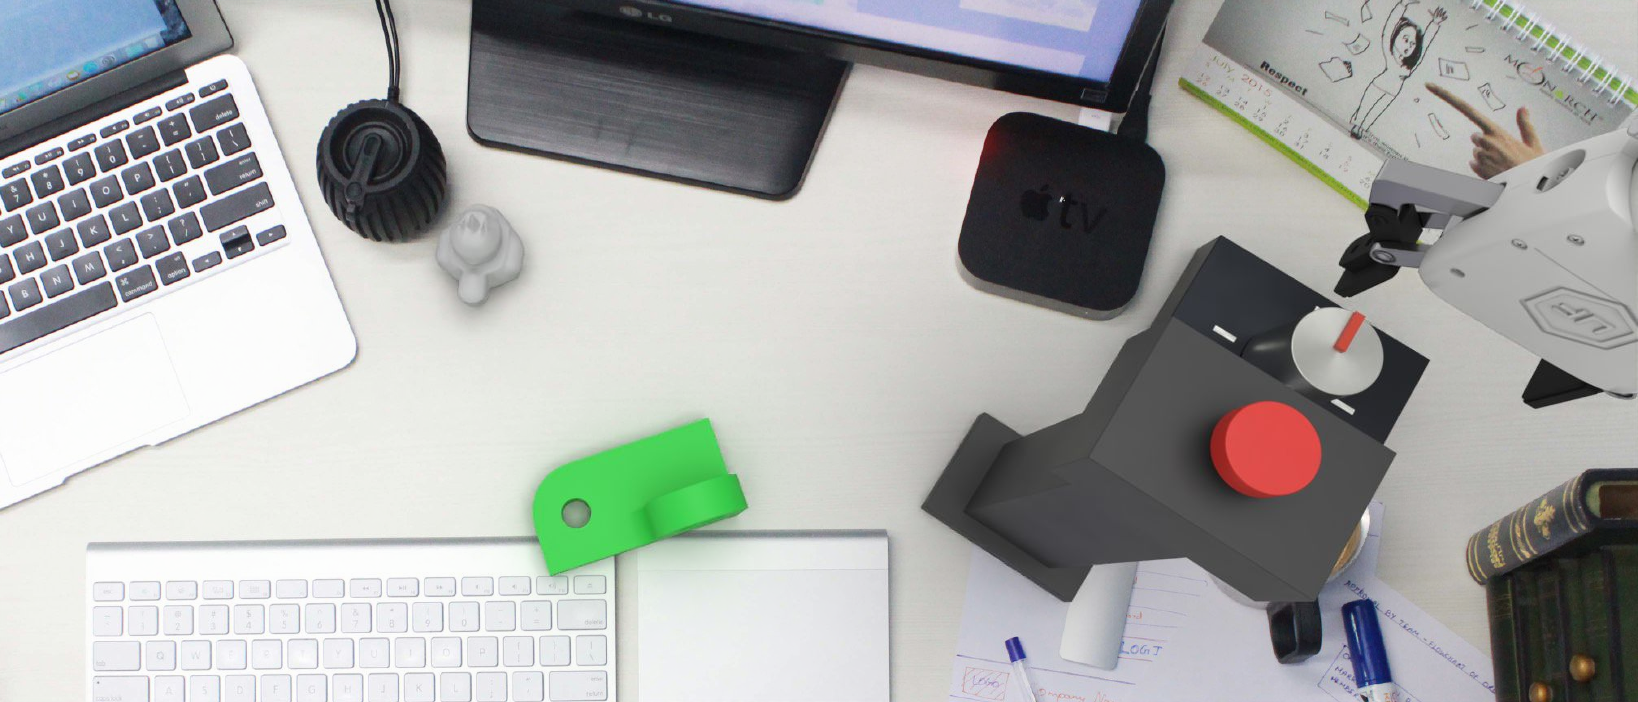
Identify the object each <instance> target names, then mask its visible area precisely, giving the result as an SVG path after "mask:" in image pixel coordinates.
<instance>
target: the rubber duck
mask: <svg viewBox="0 0 1638 702" xmlns="http://www.w3.org/2000/svg"><path fill="white" fill-rule="evenodd" d="M524 258H525V247H524V243H523V241H522V239H521V236H520V235H519V234H518V232H516V230H514V228H513V226H512V224H510V222H509V220H508V219H507V218H506V217H505V216H504V215H503V213H502V212H501V211H500V210H499V209H498V208H496V207H494V206H490V205H487V204H483V203H476V204H473V205H471V206H469V207H467V208H466V209H464V210H463V211H461V213H459V215H457V216H456V218H454V220H453V221H452V223H451V224H450V225H449V226H447V227H446V228H444V230H443V231H442V232H441V234H440V235H439V237H438V240H437V246H436V250H435V261H436V263H437V265H438V266H439V267H440V268H441V269H442V270H443V271H444V272H445V273H447V274H448V275H449V276H450V277H451V278H452V279H454V280H456V281H457V282H458V285H457V292H456V293H457V297H458V298H459V299H460V300H461V301H462V302H463V303H465V304H467V306H468V307H470V308H479V307H481V306H483V305H484V304H485V303H486V302H487V301H488V298H489V296H490V291H491V290H490V289H491V288H494V287H498V286H501V285H503V284H505V283H506V282H510V281H513V280H515V279H517V278H518V277H519V276H521V273H522V268H523V263H524Z"/></svg>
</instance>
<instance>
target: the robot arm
mask: <svg viewBox="0 0 1638 702" xmlns="http://www.w3.org/2000/svg"><path fill="white" fill-rule="evenodd" d="M1367 202H1368V206H1367V209H1366V211H1365V212H1364V215H1363V216H1364V219H1365V223H1366V225H1367V228H1368V230H1369V232H1367V233H1365V234H1363V235H1361V236H1360V237H1357V238H1356V239H1354V240H1353V241H1352V242H1351V243H1350V244H1349V245H1348V246H1347V247H1346V248H1345V250H1344V252H1343V254H1342V255H1341V257H1340V259H1339V260H1338V266H1339V267H1341V268H1342V269H1344V270H1343V272H1342V274H1341V276H1340V278H1339V279H1338V281H1337V282H1336V285H1335V286H1334V288H1333V293H1334V294H1336V295H1337V296H1339V297H1341V298H1344V299H1345V298H1349V299H1351V298H1352V297H1355V296H1357V295H1359V294H1361V293H1364V292H1366V291H1368V290H1370V289H1373V288H1374V287H1376V286H1379V285H1382V284H1383V283H1385V282H1388V281H1390V280H1393V278H1395V277H1396V275H1398V273H1399V271H1400V270H1401V268H1411V269H1418V270H1417V273H1418V276H1419V278H1420V280H1421V281H1422V282H1423V284H1424V285H1425V286H1426V287H1427V288H1428V289H1429V290H1430V291H1431V292H1432V293H1433V294H1434V295H1435V296H1436V297H1437V298H1439V299H1440V300H1442V301H1443V302H1445V303H1446V304H1448V305H1450V306H1451V307H1453V308H1455V309H1456V310H1458V311H1460V312H1461V313H1463V314H1464V315H1466V316H1467V317H1470V318H1471V319H1473V320H1475V321H1477V322H1478V323H1480V324H1482V325H1483V326H1485V327H1486V328H1489V329H1490V330H1492V331H1494V332H1495V333H1497V334H1499V335H1501V336H1502V337H1504V338H1505V339H1507V340H1508V341H1511V342H1512V343H1514V344H1516V345H1518V346H1519V347H1520V348H1523V349H1525V350H1526V351H1528V352H1530V353H1532V354H1534V355H1536V356H1537V357H1538V358H1540V359H1539V362H1538V364H1537V366H1536V367H1535V370H1534V371H1533V372H1532V375H1531V377H1530V379H1529V381H1528V382H1527V384H1526V387H1525V389H1524V390H1523V392H1522V393H1521V399H1523V400H1522V402H1523V403H1524V404H1525V405H1527V406H1529V407H1530V408H1532V409H1533V410H1537V409H1543V408H1545V407H1546V408H1547V407H1550V406H1555V405H1559V404H1563V403H1567V402H1571V401H1575V400H1579V399H1584V398H1587V397H1592V396H1595V395H1596V396H1597V395H1598V394H1602V393H1605V394H1606V395H1608V396H1610V397H1612V398H1615V399H1618V400H1622V401H1623V400H1624V401H1630V400H1631V401H1632V400H1635V399H1637V397H1638V114H1636V116H1635V117H1634V118H1633V120H1631V121H1630V124H1629V125H1628V126H1627V127H1624V128H1619V129H1617V130H1613V131H1610V132H1606V133H1603V134H1599V135H1595V136H1593V137H1590V138H1586V139H1583V140H1579V141H1577V142H1574V143H1571V144H1569V145H1565V146H1563V147H1559V148H1558V149H1555V150H1552V151H1549V152H1547V153H1544V154H1542V155H1539V156H1537V157H1535V158H1533V159H1530V160H1527V161H1525V162H1522V163H1520V164H1518V165H1515V166H1514V167H1511V168H1508V169H1507V170H1504V171H1502V172H1500V173H1498V174H1496V175H1494V176H1492V177H1490V178H1488V179H1486V180H1484V179H1480V178H1477V177H1473V176H1469V175H1466V174H1461V173H1458V172H1454V171H1450V170H1446V169H1442V168H1438V167H1433V166H1431V165H1426V164H1422V163H1418V162H1414V161H1411V160H1407V159H1402V158H1397V157H1389V158H1387V159H1385V160H1384V162H1383V164H1382V165H1381V167H1380V169H1379V170H1378V172H1377V174H1376V176H1375V178H1374V180H1373V181H1372V183H1371V186H1370V191H1369V196H1368V201H1367ZM1424 229H1430V230H1442V232H1441V233H1440V235H1439V238H1438V239H1437V240H1436V241H1435V242H1434V243H1433V244H1428V243H1417V242H1418V240H1419V239H1420V237H1421V235H1422V233H1423V232H1424Z"/></svg>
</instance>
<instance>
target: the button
mask: <svg viewBox="0 0 1638 702" xmlns="http://www.w3.org/2000/svg"><path fill="white" fill-rule="evenodd" d="M1211 456H1212V460H1213V463H1214V466H1215V468H1216V470H1217V472H1218V473H1219V475H1220V476H1221V477H1222V478H1223V480H1224V481H1225V482H1226V483H1227V484H1228V485H1229V486H1231V487H1232V488H1234V489H1235V490H1237V491H1238V492H1240V493H1242V494H1245V495H1247V496H1251V497H1256V498H1270V497H1277V496H1283V495H1289V494H1292V493H1295V492H1297V491H1300V490H1301V489H1303V488H1304V487H1306V486H1307V485H1308V484H1309V483H1310V482H1311V481H1312V480H1313V478H1314V477H1315V475H1316V474H1317V471H1318V469H1319V466H1320V463H1321V444H1320V440H1319V437H1318V435H1317V432H1316V431H1315V429H1314V427H1313V426H1312V424H1311V423H1310V422H1309V420H1308V419H1307V418H1306V417H1305V416H1304V415H1303V414H1301V413H1300V412H1299V411H1297V410H1296V409H1294V408H1292V407H1290V406H1288V405H1286V404H1283V403H1279V402H1273V401H1261V402H1256V403H1252V404H1249V405H1246V406H1243V407H1239V408H1237V409H1234V410H1232V411H1230V412H1229V413H1227V414H1226V415H1225V416H1223V418H1222V419H1221V420H1220V421H1219V422H1218V424H1217V425H1216V427H1215V429H1214V431H1213V434H1212V438H1211Z"/></svg>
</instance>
